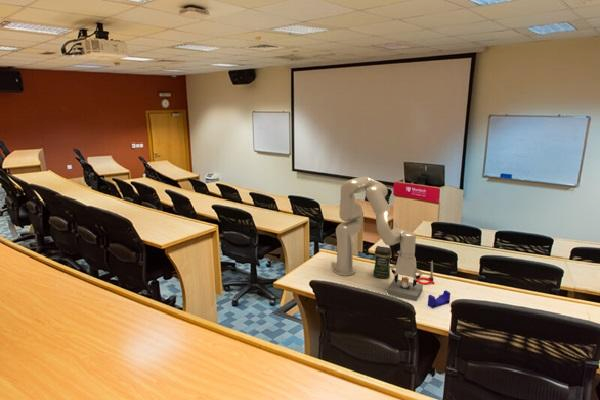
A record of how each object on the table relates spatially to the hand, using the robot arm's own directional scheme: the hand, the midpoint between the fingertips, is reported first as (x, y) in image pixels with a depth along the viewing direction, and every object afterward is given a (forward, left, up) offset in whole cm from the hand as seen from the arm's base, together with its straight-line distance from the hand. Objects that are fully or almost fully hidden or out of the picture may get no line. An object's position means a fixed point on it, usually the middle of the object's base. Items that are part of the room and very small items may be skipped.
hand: (405, 283), depth 203 cm
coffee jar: (-17, +13, -5) cm, 22 cm away
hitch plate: (0, 0, -5) cm, 5 cm away
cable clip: (+18, -4, -5) cm, 19 cm away
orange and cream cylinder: (0, 0, -5) cm, 5 cm away
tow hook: (+7, +18, -5) cm, 20 cm away
